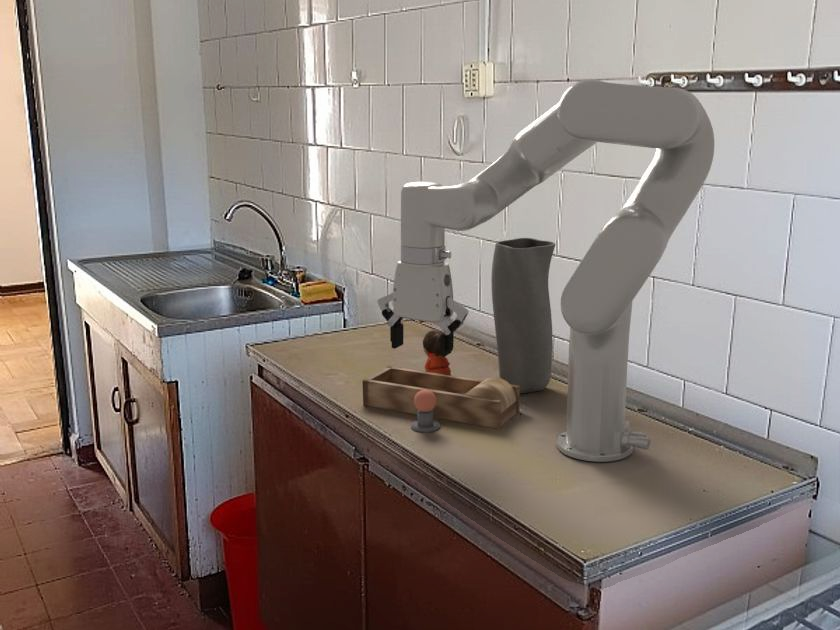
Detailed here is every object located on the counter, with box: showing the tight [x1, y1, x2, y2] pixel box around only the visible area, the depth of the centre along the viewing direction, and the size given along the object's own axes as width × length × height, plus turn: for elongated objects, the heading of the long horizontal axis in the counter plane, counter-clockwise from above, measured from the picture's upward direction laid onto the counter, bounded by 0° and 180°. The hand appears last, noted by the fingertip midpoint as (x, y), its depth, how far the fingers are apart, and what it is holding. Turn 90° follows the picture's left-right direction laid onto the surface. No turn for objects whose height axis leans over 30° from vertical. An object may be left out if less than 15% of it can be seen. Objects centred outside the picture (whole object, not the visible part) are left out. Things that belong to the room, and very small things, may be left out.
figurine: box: [422, 329, 452, 376], centre depth 176 cm, size 6×6×12 cm
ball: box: [414, 390, 436, 412], centre depth 154 cm, size 4×4×4 cm
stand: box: [410, 410, 441, 433], centre depth 155 cm, size 5×5×3 cm
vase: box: [490, 237, 556, 395], centre depth 171 cm, size 12×12×30 cm
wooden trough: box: [362, 365, 521, 429], centre depth 164 cm, size 28×10×8 cm, turn 62°
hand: (421, 350), depth 152 cm, fingers open, 9 cm apart
